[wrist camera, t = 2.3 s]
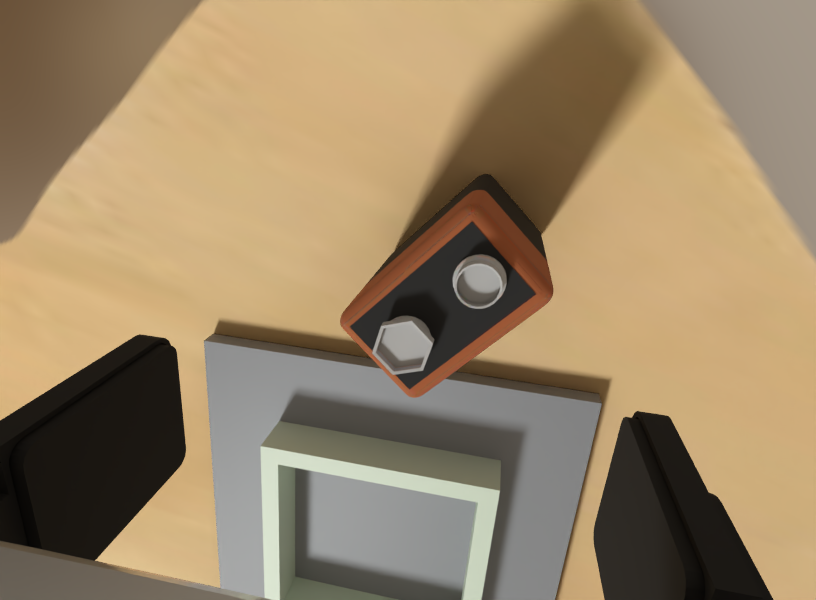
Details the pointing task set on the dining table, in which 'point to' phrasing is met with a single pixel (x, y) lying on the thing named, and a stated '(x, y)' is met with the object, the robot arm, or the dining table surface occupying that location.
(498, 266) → the battery
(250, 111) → the dining table surface
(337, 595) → the slot tray
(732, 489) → the dining table surface
